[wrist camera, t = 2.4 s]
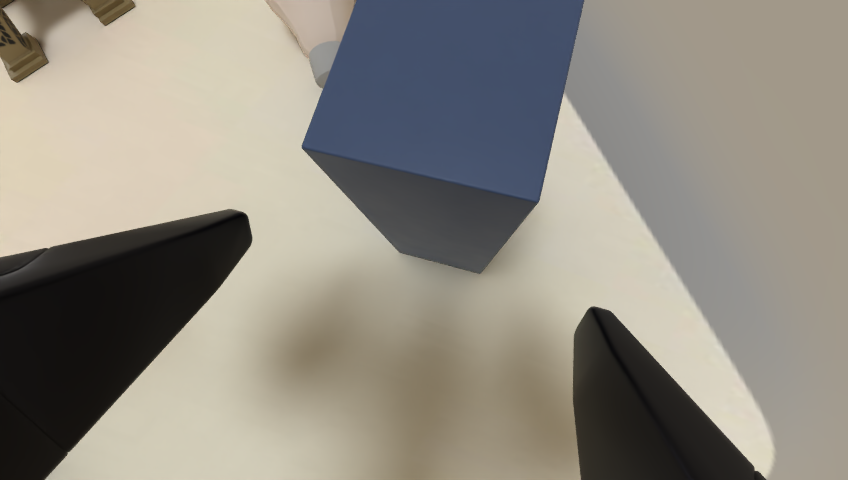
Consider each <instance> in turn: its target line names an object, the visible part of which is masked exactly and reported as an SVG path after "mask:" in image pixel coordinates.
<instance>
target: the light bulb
mask: <svg viewBox="0 0 848 480" xmlns="http://www.w3.org/2000/svg"><path fill="white" fill-rule="evenodd" d="M265 1H266V3H267V4H268V5H269V7H270V8H271V9H272V11H273V12H274V13H275V14H276V15H277V16H278V17H279V18H280V19H281V20H282V21H283V22H284V23H285V24H286V25H287V26H288V27H289V29H290V30H291V31H292V32H293V34H294V35H295V36H296V38H297V40H298V43H299V45H300V47H301V50H302V52H303V53H304V54H305V56H306V57H307V58H309V61H310V64H311V67H312V71H313V74H314V78H315V81H316V83H317V85H318V86H319V87H321V88H324V85H325V83H326V80H327V77H328V75H329V72H330V69H331V67H332V64H333V61H334V59H335V56H336V53H337V51H338V48H339V45H340V43H341V40H342V37H343V35H344V32H345V29H346V27H347V24H348V21H349V19H350V16H351V14H352V11H353V6H354V2H355V0H265Z"/></svg>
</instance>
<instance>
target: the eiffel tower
mask: <svg viewBox="0 0 848 480" xmlns="http://www.w3.org/2000/svg"><path fill="white" fill-rule="evenodd" d="M12 1H13V0H0V57H1V59H2V61H3V63H4V65H5V68H6V70H7V72H8V74H9V76H10V78H11V80H13V81H15V82H18V81H20V80H21V79H23V78H24V77H26V76H28V75H29V74H31V73H32V72H34V71H35V70H37V69H38V68H40V67H42V66H43V65H45V64H46V63H48V61H47V59H46V57H45V55H44V53H43V51H42V49H41V47H40V45H39V43H38V41H37V39H35V38H34V37H32V36H31V35H29V34H28V33H26V32H25V33H23V34H22V35H21V34H20V32H19V31H18V30H17V28H16V27H15V25H14V24H13V23H12V21H11V20H10V19H9V17H8V16H7V14H6V13H5V12H4V10H3V9H2V7H4V6H5V5H7V4H8V3H10V2H12ZM82 1H83V2H84V3H86V4H87V5H89V7H90V9H91V10H92V12H93V14H94V15H95V16H96V17H98V18H99V20H100V22H101V23H103V24H104V25H107V24H108V23H110V22H111V21H113V20H114V19H116V18H118V17H119V16H121V15H122V14H124V13H125V12H127V11H128V10H130V9H132V8H133V7H135V5H134V3H133V2H132V0H82Z"/></svg>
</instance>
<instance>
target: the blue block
mask: <svg viewBox="0 0 848 480" xmlns="http://www.w3.org/2000/svg"><path fill="white" fill-rule="evenodd" d="M583 4H584V0H356V3H355V6H354V8H353V11H352V14H351V16H350V19H349V21H348V24H347V27H346V29H345V32H344V35H343V37H342V40H341V43H340V45H339V48H338V51H337V53H336V56H335V59H334V61H333V64H332V67H331V69H330V72H329V75H328V77H327V80H326V83H325V85H324V88H323V91H322V93H321V96H320V99H319V101H318V104H317V107H316V109H315V112H314V115H313V117H312V120H311V123H310V125H309V128H308V131H307V133H306V136H305V139H304V141H303V144H302V149H303V150H304V151H305V152H306V153H307V154H308V155H309V156H310V157H311V158H312V159H313V161H314V162H315V163H316V164H317V165H318V166H319V167H320V168H321V169H322V170H323V171H324V172H325V173H326V174H327V175H328V177H329V178H330V179H331V180H332V181H333V182H334V183H335V184H336V185H337V186H338V187H339V188H340V189H341V190H342V192H343V193H344V194H345V195H346V196H347V197H348V198H349V199H350V200H351V201H352V202H353V203H354V204H355V205H356V206H357V208H358V209H359V210H360V211H361V212H362V213H363V214H364V215H365V216H366V217H367V218H368V219H369V220H370V221H371V223H372V224H373V225H374V226H375V227H376V228H377V229H378V230H379V231H380V232H381V233H382V234H383V235H384V236H385V238H386V239H387V240H388V241H389V242H390V243H391V244H392V245H393V246H394V247H395V248H396V249H397V250H398V251H399V252H400V253H404V254H408V255H412V256H415V257H419V258H423V259H427V260H430V261H434V262H438V263H441V264H445V265H449V266H453V267H456V268H460V269H464V270H468V271H471V272H475V273H479V274H480V273H481V272H482V271H483V270H484V269H485V267H486V266H487V265H488V264H489V262H490V261H491V260H492V259H493V257H494V256H495V255H496V254H497V253H498V251H499V250H500V249H501V248H502V246H503V245H504V244H505V243H506V242H507V240H508V239H509V238H510V237H511V235H512V234H513V233H514V232H515V230H516V229H517V228H518V227H519V226H520V224H521V223H522V222H523V221H524V219H525V218H526V217H527V216H528V214H529V213H530V212H531V211H532V210H533V208H534V207H535V206H536V205H537V203H538V202H539V200H540V196H541V191H542V187H543V182H544V178H545V173H546V169H547V164H548V160H549V155H550V151H551V147H552V142H553V138H554V133H555V129H556V124H557V120H558V115H559V111H560V106H561V102H562V97H563V93H564V88H565V84H566V80H567V75H568V71H569V66H570V61H571V57H572V53H573V48H574V44H575V39H576V35H577V30H578V26H579V21H580V17H581V13H582V8H583Z"/></svg>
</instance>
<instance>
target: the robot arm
mask: <svg viewBox="0 0 848 480" xmlns="http://www.w3.org/2000/svg"><path fill="white" fill-rule="evenodd" d="M251 243H252V234H251V229H250V224H249V219H248V216H247V215H246V214H245V213H244V212H241V211H237V210H233V209H228V210H223V211H218V212H213V213H209V214H204V215H199V216H195V217H190V218H185V219H180V220H176V221H171V222H166V223H162V224H157V225H152V226H147V227H143V228H138V229H133V230H129V231H124V232H119V233H114V234H110V235H105V236H100V237H96V238H91V239H86V240H81V241H77V242H72V243H67V244H63V245H58V246H53V247H50V248H49V249H48V248H43V249H39V250H34V251H29V252H25V253H20V254H15V255H10V256H5V257H0V480H45V479H46V478H47V476H48V475H49V474H50V473H51V472H52V471H53V470H54V469H55V468H56V467H57V466H58V464H59V463H60V462H61V461H62V460H63V459H64V458H65V457H66V456H67V454H68V453H67V452H70V451H71V450H72V449H73V448H74V446H75V445H76V444H77V443H78V442H79V441H80V440H81V439H82V438H83V437H84V436H85V434H86V433H87V432H88V431H89V430H90V429H91V428H92V427H93V426H94V425H95V424H96V422H97V421H98V420H99V419H100V418H101V417H102V416H103V415H104V414H105V413H106V411H107V410H108V409H109V408H110V407H111V406H112V405H113V404H114V403H115V402H116V401H117V399H118V398H119V397H120V396H121V395H122V394H123V393H124V392H125V391H126V390H127V388H128V387H129V386H130V385H131V384H132V383H133V382H134V381H135V380H136V379H137V378H138V376H139V375H140V374H141V373H142V372H143V371H144V370H145V369H146V368H147V367H148V366H149V364H150V363H151V362H152V361H153V360H154V359H155V358H156V357H157V356H158V355H159V353H160V352H161V351H162V350H163V349H164V348H165V347H166V346H167V345H168V344H169V343H170V341H171V340H172V339H173V338H174V337H175V336H176V335H177V334H178V333H179V332H180V331H181V329H182V328H183V327H184V326H185V325H186V324H187V323H188V322H189V321H190V320H191V318H192V317H193V316H194V315H195V314H196V313H197V312H198V311H199V310H200V309H201V308H202V306H203V305H204V304H205V303H206V302H207V301H208V300H209V299H210V298H211V297H212V295H213V294H214V293H215V292H216V291H217V290H218V288H219V287H220V286H221V285H222V283H223V282H224V281H225V279H226V278H227V277H228V275H229V274H230V273H231V271H232V270H233V269H234V267H235V266H236V265H237V263H238V262H239V261H240V259H241V258H242V257H243V255H244V254H245V253H246V251H247V250H248V249H249V247H250V246H251ZM573 405H574V416H575V425H576V435H577V445H578V455H579V464H580V474H581V480H766V479H765V478H764V477H763V476H762V475H761V473H759V472H758V471H755V469H754V466H753V465H752V464H751V463H750V462H749V461H748V460H747V458H746V457H745V456H744V455H743V454H742V453H741V452H740V451H739V450H738V449H737V448H736V447H735V445H734V444H733V443H732V442H731V441H730V440H729V439H728V438H727V437H726V436H725V435H724V433H723V432H722V431H721V430H720V429H719V428H718V427H717V426H716V425H715V424H714V423H713V422H712V420H711V419H710V418H709V417H708V416H707V415H706V414H705V413H704V412H703V411H702V410H701V409H700V407H699V406H698V405H697V404H696V403H695V402H694V401H693V400H692V399H691V398H690V397H689V396H688V394H687V393H686V392H685V391H684V390H683V389H682V388H681V387H680V386H679V385H678V384H677V382H676V381H675V380H674V379H673V378H672V377H671V376H670V375H669V374H668V373H667V372H666V371H665V369H664V368H663V367H662V366H661V365H660V364H659V363H658V362H657V361H656V360H655V359H654V358H653V356H652V355H651V354H650V353H649V352H648V351H647V350H646V349H645V348H644V347H643V346H642V345H641V343H640V342H639V341H638V340H637V339H636V338H635V337H634V336H633V335H632V334H631V333H630V331H629V330H628V329H627V328H626V327H625V326H624V325H623V324H622V323H621V322H620V321H619V320H618V318H617V317H616V316H615V315H614V314H613V313H612V312H611V311H609V310H606V309H602V308H598V307H594V306H593V307H590V308H589V309H588V310H587V312H586V313H585V315H584V317H583V318H582V320H581V322H580V323H579V325H578V327H577V328H576V331H575V334H574V358H573Z"/></svg>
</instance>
